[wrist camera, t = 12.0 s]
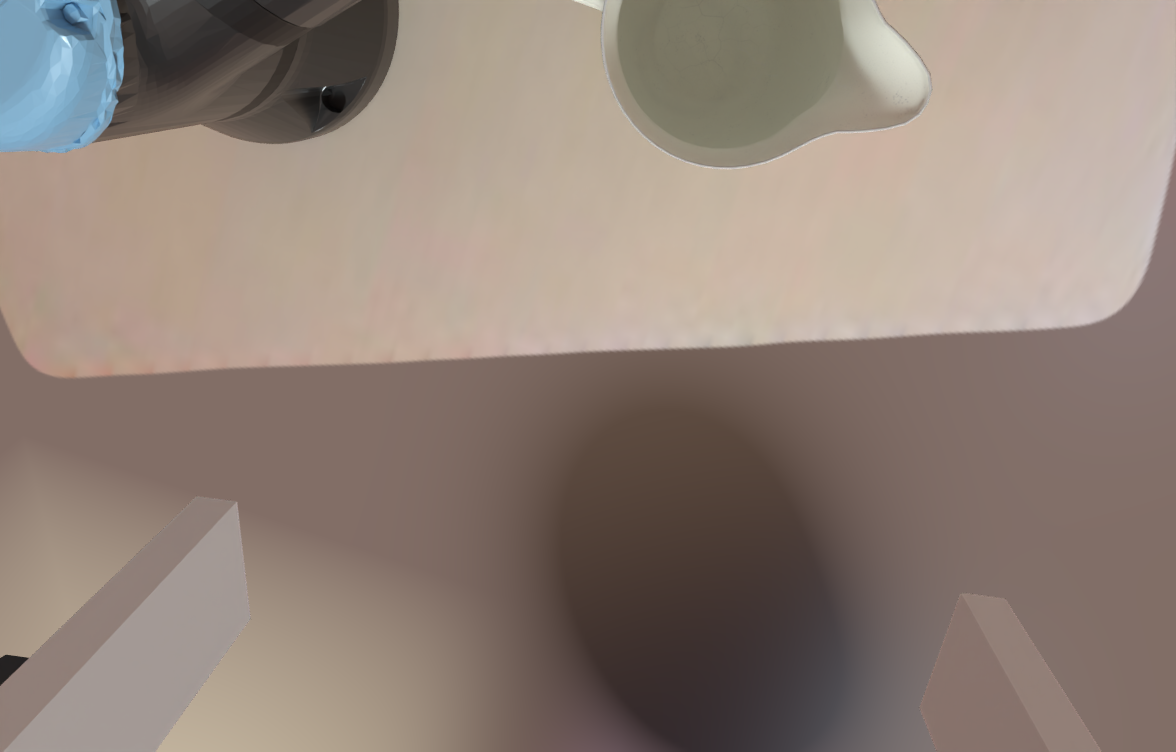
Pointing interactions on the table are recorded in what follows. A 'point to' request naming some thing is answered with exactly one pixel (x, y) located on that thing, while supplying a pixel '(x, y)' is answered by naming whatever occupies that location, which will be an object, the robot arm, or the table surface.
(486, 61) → the table surface
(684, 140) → the pitcher
